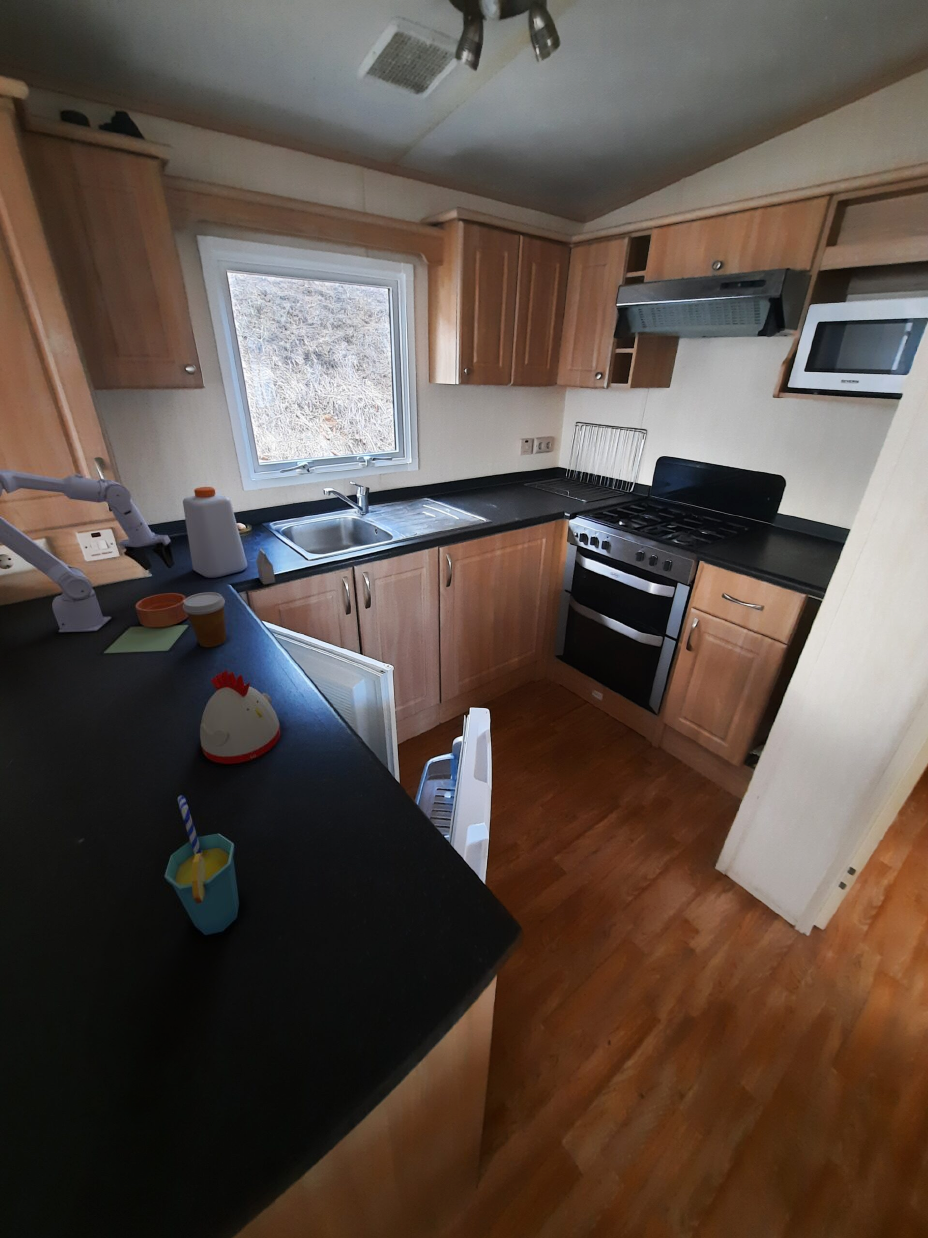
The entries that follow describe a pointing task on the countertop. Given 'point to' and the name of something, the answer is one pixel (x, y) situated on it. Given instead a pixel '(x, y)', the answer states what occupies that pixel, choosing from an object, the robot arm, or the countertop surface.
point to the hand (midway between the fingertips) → (160, 567)
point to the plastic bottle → (213, 534)
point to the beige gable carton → (265, 568)
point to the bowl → (161, 610)
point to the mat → (147, 639)
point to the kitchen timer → (237, 722)
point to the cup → (205, 878)
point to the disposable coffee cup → (207, 617)
